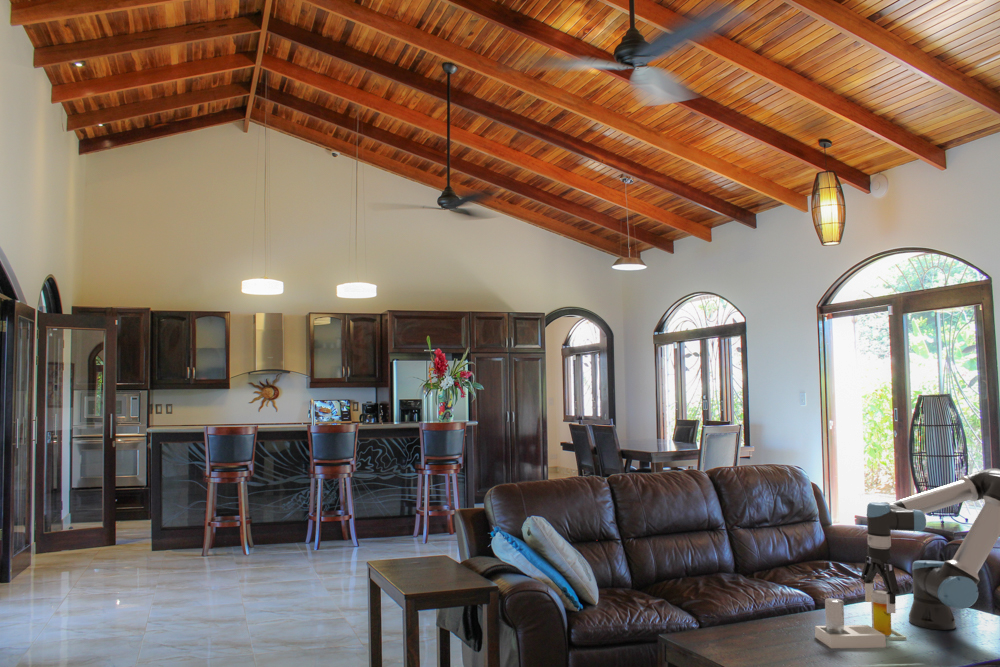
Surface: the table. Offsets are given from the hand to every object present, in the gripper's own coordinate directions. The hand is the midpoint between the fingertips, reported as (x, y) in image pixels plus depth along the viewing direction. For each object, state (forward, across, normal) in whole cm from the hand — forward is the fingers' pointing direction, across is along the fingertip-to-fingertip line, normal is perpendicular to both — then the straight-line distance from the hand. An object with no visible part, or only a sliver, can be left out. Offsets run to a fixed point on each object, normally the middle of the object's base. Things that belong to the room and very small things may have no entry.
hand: (880, 607), depth 269 cm
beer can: (+10, 0, 0) cm, 10 cm away
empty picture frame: (+10, 0, 0) cm, 10 cm away
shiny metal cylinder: (+9, +8, -21) cm, 25 cm away
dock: (+10, +8, -16) cm, 21 cm away
